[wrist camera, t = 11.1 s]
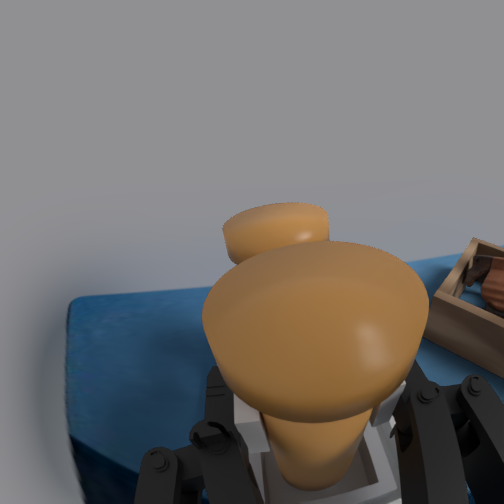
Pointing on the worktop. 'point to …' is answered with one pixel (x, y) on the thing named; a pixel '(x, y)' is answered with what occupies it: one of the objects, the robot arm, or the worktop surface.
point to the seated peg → (273, 228)
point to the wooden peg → (316, 346)
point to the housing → (351, 485)
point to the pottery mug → (488, 281)
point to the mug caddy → (467, 317)
